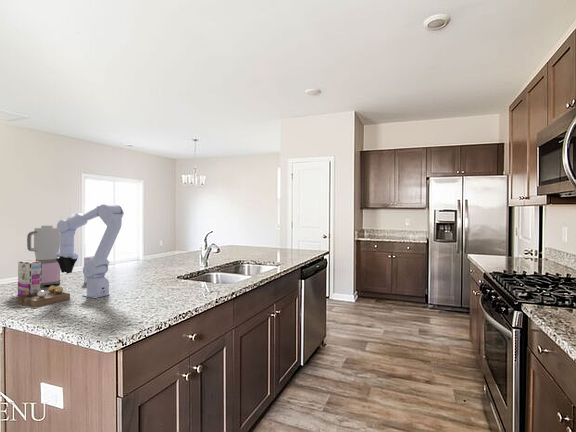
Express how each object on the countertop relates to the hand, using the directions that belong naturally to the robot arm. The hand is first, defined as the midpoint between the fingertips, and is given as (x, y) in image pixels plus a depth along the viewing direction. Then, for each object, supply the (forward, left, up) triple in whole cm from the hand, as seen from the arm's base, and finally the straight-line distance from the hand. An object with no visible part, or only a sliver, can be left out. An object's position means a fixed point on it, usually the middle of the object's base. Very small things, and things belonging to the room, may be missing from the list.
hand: (66, 272), depth 161 cm
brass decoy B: (-4, +8, -6) cm, 11 cm away
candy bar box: (+8, +12, -10) cm, 17 cm away
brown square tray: (-6, +13, -10) cm, 17 cm away
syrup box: (+14, -22, -10) cm, 28 cm away
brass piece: (-9, +8, -6) cm, 14 cm away
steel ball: (-10, +16, -6) cm, 20 cm away
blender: (+27, -4, -10) cm, 29 cm away
